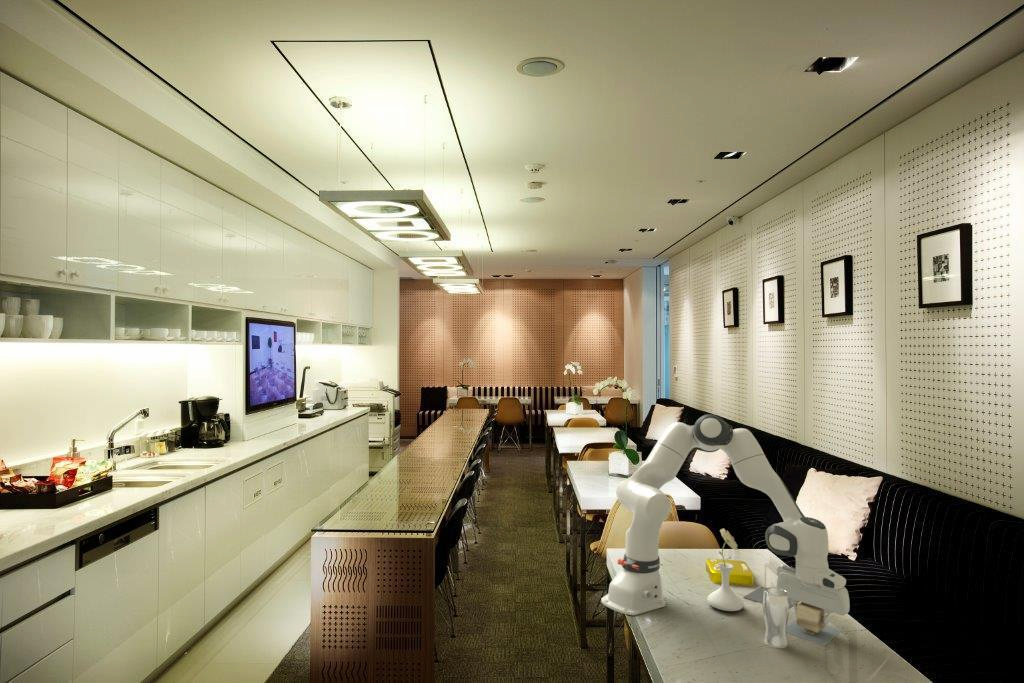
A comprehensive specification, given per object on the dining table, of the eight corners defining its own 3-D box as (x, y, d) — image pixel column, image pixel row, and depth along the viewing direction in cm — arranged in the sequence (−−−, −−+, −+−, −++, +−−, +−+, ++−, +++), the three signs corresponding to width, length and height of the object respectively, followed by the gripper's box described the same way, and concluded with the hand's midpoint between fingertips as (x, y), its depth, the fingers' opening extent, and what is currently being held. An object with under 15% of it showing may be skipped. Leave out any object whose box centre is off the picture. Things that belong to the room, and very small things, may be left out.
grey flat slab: (824, 646, 166) (824, 645, 166) (781, 631, 175) (781, 630, 175) (841, 631, 175) (841, 630, 175) (800, 617, 184) (800, 616, 184)
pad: (784, 611, 188) (784, 610, 188) (743, 597, 198) (743, 596, 198) (802, 599, 197) (802, 599, 197) (761, 587, 207) (761, 586, 207)
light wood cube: (817, 632, 170) (817, 612, 170) (796, 625, 175) (796, 605, 175) (825, 626, 174) (825, 606, 174) (804, 619, 179) (805, 600, 179)
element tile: (754, 587, 208) (754, 574, 208) (711, 584, 210) (711, 571, 211) (745, 571, 223) (745, 559, 223) (704, 568, 225) (705, 556, 225)
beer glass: (766, 635, 172) (766, 584, 172) (791, 642, 168) (791, 591, 168) (759, 644, 167) (759, 592, 167) (785, 652, 162) (785, 598, 162)
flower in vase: (746, 616, 184) (747, 538, 184) (709, 612, 186) (710, 535, 187) (739, 599, 197) (739, 526, 197) (704, 596, 199) (705, 523, 199)
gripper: (772, 565, 180) (772, 609, 180) (844, 586, 165) (843, 634, 165) (781, 560, 185) (781, 604, 184) (851, 580, 169) (851, 628, 169)
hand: (811, 618), depth 175 cm, fingers closed on light wood cube, 6 cm apart
